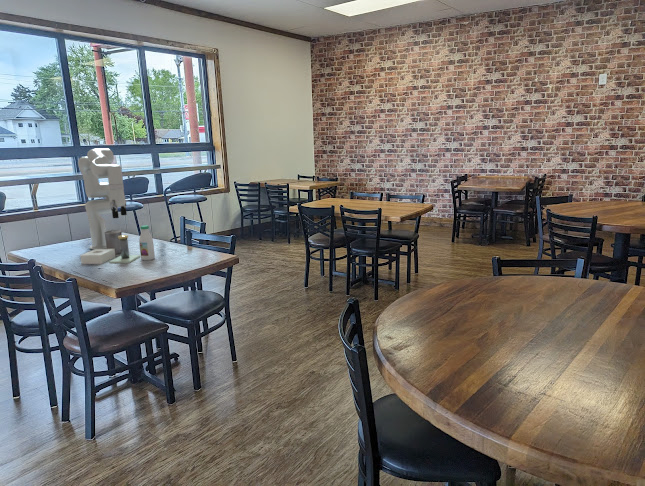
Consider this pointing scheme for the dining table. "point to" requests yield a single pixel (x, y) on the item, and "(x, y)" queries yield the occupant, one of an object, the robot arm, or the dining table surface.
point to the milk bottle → (146, 244)
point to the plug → (124, 246)
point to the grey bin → (113, 240)
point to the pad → (128, 260)
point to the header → (97, 256)
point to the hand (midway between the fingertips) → (119, 216)
